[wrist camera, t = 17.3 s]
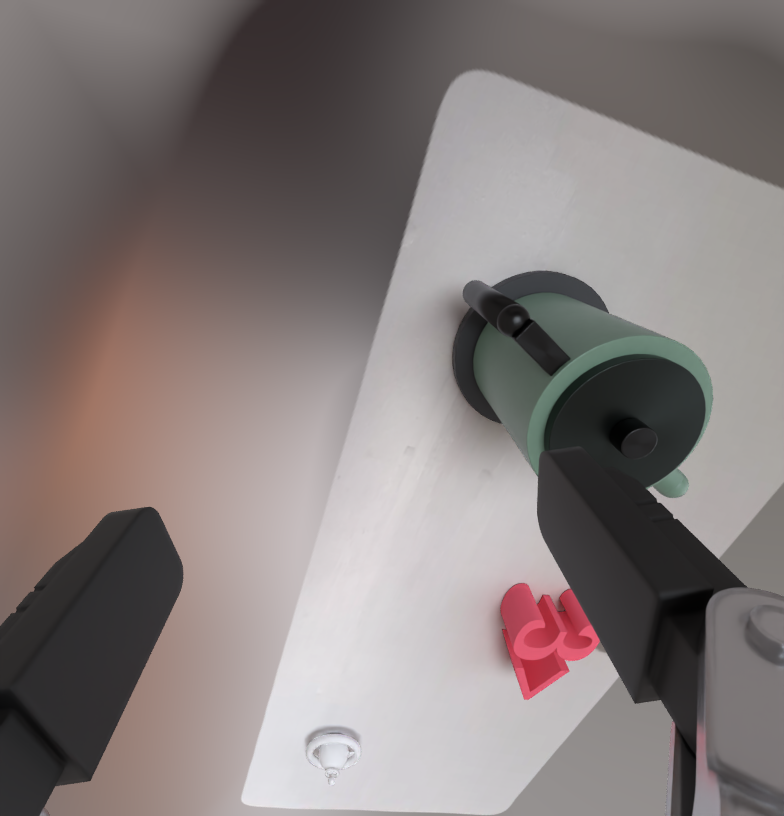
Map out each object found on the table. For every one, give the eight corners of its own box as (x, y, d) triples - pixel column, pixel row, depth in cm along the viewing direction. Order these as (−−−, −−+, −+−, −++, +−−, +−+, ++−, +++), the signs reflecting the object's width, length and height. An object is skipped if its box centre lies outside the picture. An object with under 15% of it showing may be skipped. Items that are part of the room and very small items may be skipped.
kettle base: (424, 384, 38) (425, 389, 37) (510, 238, 33) (515, 239, 32) (544, 441, 42) (549, 447, 41) (638, 317, 37) (646, 321, 36)
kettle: (410, 329, 34) (441, 406, 21) (509, 221, 31) (622, 230, 18) (553, 458, 41) (648, 580, 27) (647, 379, 38) (806, 472, 24)
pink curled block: (546, 663, 57) (562, 702, 53) (476, 657, 56) (486, 697, 51) (587, 590, 51) (609, 626, 47) (510, 581, 50) (525, 618, 45)
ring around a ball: (327, 715, 59) (297, 742, 62) (322, 763, 54) (290, 790, 56) (372, 733, 61) (342, 759, 64) (372, 780, 56) (339, 806, 59)
